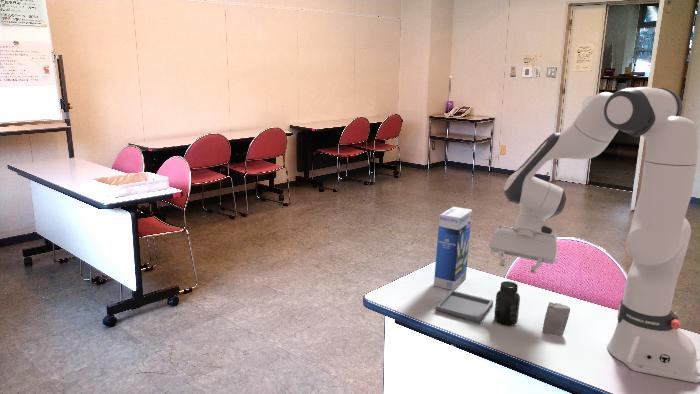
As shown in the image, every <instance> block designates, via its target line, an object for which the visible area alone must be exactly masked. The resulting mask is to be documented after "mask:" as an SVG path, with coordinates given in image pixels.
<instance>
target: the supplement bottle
mask: <svg viewBox="0 0 700 394" xmlns="http://www.w3.org/2000/svg"><path fill="white" fill-rule="evenodd" d="M518 288H519V287H518V284H517V283H516V282H513V281H509V280H507V281H502V282H501V283H500V287H499V290H498V291H497V293H496V294H495V306H494V315H493V316H494V317H493V318H494V319H493V320H494V321H495V323H497V324H498V325H501V326H505V327H513V326H516V325H517V324H518V320H519V311H520V302H521V295H520V294H519V293H518Z"/></svg>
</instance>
